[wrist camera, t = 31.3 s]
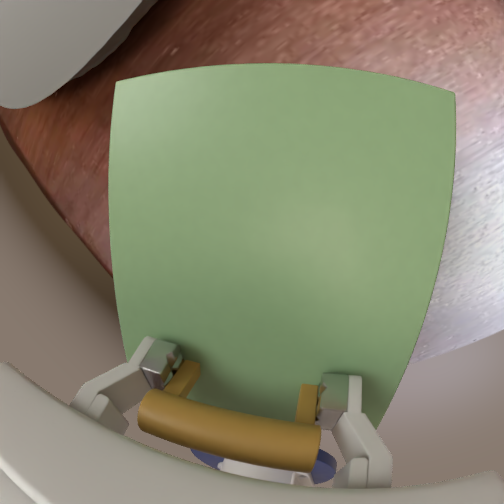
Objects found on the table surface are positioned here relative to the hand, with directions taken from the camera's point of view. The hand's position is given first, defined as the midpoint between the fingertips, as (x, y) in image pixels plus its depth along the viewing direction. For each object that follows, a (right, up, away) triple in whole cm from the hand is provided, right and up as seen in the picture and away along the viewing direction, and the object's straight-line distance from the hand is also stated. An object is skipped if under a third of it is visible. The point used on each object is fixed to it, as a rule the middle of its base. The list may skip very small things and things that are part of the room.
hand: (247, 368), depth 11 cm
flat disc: (-14, +29, 0) cm, 33 cm away
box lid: (0, +4, 0) cm, 4 cm away
